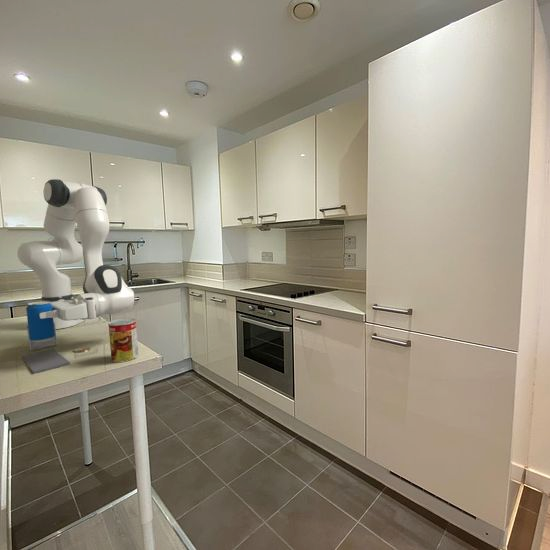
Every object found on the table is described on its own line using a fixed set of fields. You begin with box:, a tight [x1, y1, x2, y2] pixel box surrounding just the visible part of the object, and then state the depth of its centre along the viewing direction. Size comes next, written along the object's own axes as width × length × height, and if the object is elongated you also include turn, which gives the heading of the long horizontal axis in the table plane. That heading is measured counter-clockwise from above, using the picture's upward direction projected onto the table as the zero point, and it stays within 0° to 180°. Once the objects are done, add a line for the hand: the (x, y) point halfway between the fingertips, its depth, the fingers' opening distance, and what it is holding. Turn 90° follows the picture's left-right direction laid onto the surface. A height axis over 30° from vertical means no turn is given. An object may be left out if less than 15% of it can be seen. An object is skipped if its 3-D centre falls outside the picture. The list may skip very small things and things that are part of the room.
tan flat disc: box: [72, 346, 91, 354], centre depth 109 cm, size 5×5×1 cm
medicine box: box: [26, 323, 58, 351], centre depth 114 cm, size 8×4×9 cm, turn 134°
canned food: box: [108, 318, 139, 363], centre depth 100 cm, size 8×8×12 cm
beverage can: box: [26, 300, 55, 342], centre depth 98 cm, size 6×6×12 cm
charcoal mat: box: [21, 348, 71, 374], centre depth 100 cm, size 20×9×1 cm, turn 47°
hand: (36, 314), depth 97 cm, fingers closed on beverage can, 6 cm apart
